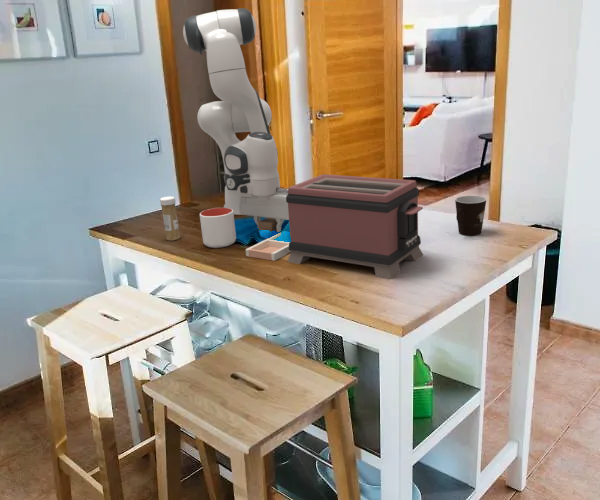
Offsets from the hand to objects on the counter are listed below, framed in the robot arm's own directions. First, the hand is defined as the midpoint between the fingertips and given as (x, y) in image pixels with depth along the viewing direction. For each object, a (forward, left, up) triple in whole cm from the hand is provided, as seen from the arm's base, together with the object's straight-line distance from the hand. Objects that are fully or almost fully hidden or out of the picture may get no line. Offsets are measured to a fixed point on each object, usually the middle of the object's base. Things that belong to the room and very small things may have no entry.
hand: (269, 230), depth 186 cm
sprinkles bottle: (+14, -28, -2) cm, 31 cm away
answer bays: (+8, +10, -2) cm, 13 cm away
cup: (+12, -10, -2) cm, 16 cm away
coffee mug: (-23, +54, -2) cm, 59 cm away
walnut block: (0, 0, -2) cm, 2 cm away
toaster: (+8, +36, -2) cm, 37 cm away
